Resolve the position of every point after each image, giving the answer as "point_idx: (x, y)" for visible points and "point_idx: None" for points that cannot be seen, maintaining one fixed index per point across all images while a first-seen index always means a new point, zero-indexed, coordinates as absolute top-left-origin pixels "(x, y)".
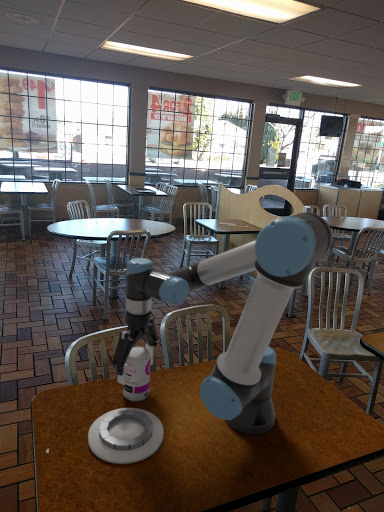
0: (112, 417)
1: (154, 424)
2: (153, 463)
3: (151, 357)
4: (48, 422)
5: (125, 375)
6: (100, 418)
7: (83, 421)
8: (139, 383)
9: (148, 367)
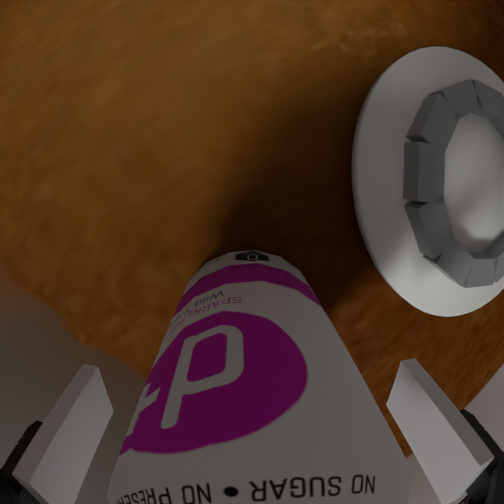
0: (478, 266)
1: (409, 97)
2: (487, 56)
3: (73, 411)
4: (468, 391)
5: (443, 402)
6: (459, 308)
7: (456, 341)
8: (320, 313)
9: (243, 362)
